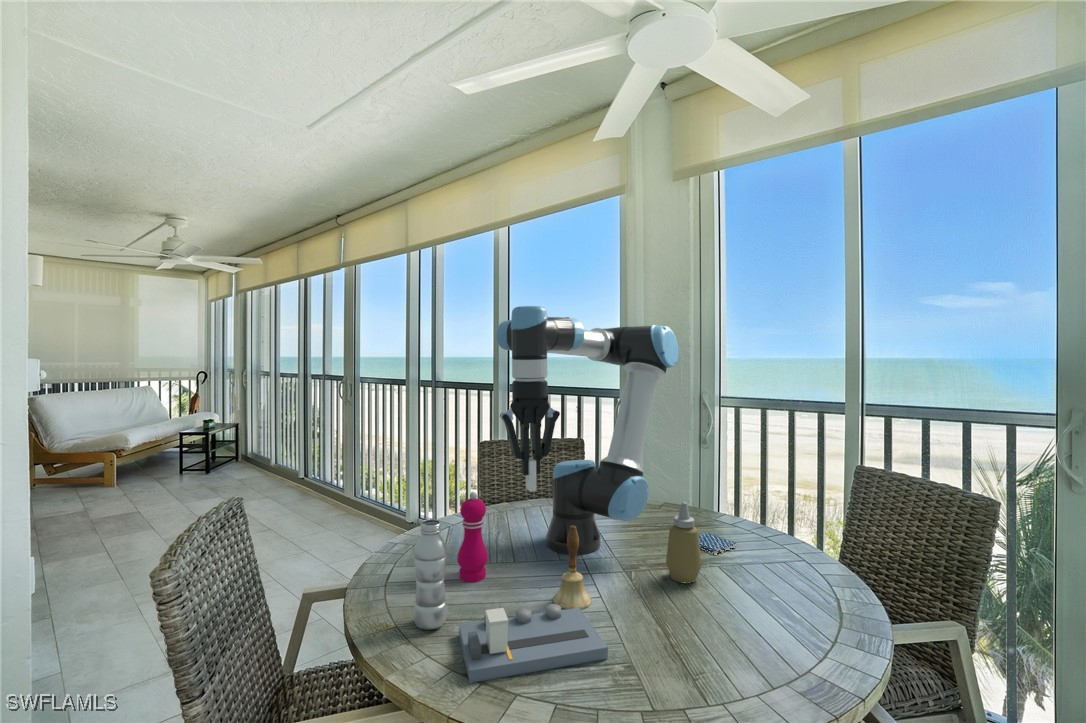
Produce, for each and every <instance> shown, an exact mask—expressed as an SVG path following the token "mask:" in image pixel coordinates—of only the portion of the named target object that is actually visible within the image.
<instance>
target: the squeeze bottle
mask: <svg viewBox="0 0 1086 723" xmlns="http://www.w3.org/2000/svg"><path fill="white" fill-rule="evenodd" d="M689 512H690V511H689V506H688V502H685V501H684V502H681V505H680V509H679V513H678V515H675V516H674V518H673V525H671V526H670V527H669V533H668V539H667V540H668V541H667V542H668V543H667V550H666V557H665V559H666V560H665V562H666V566H667V569H668V572H669V576H670V578H671V579H672V580H673V579H674V580H673V581H675V580H676V581H675V582H677V581H678V582H677V583H680V582H686V583H685V584H690V583H689V582H693V581H695V580H696V581H697V578H698V577H699V574H700V571H701V568H702V560H701V559H702V558H701V549H700V545H699V535H700V534H699V530H698V529H697V527H695V519H694V518H693V517H692V516H690V513H689ZM696 581H695V582H696ZM693 583H694V582H693Z"/></svg>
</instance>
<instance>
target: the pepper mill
mask: <svg viewBox="0 0 1086 723" xmlns="http://www.w3.org/2000/svg"><path fill="white" fill-rule="evenodd" d="M486 507H487V506H486V504H485V502H484V501H483V500H482V499H479V498H478V494H477V493H476V492H474V491H473V492H470V494H469V498H468V499H466V500H464V501H463V502H462V503H461V506H460V513H459V514H460V515H461V517H462V518H463V519H462V527H463V529H464V530H463V531H464V533H463V540H462V543H461V546H460V548H458V553H457V558H456V560H457V564H458V565H459V566H460V568H459V572H458V574H459V579H460V580H461V581H463V582H465V583H476V582H481V581H483V580H485V578H486V576H487V568H486V566H485V565H486V564H487V563H488V561H489V553H488V550H487V547H486V545H485V542H484V539H483V534H482V530H483V526H484V521H485V520H484V516H485V514H486V513H487V508H486Z"/></svg>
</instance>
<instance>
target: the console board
mask: <svg viewBox="0 0 1086 723" xmlns="http://www.w3.org/2000/svg"><path fill="white" fill-rule="evenodd" d="M507 618H508V639H507V651H506V652H500V653H493V654H490V653H489V650H488V646H487V643H486V614H484V619H483V621H476V622H470V623H469V622H468V623H463V624H462V623H461V624H459V625H458V629H459V630H458V636H459V641H460V645H461V650H462V655H463V659H464V660H463V661H464V664H465V668H466V672H467V678H468V683H470V684H471V683H478V682H482V681H490V680H493V679H499V678H505V677H506V678H507V677H511V676H516V675H517V676H518V675H523V674H524V675H525V674H528V673H534V672H540V671H546V670H549V669H550V670H551V669H556V668H563V667H567V666H573V665H580V664H585V663H591V662H597V661H602V660H608V658H609V656H608V655H609V648H608V645H607V644H606V642H605V641H604V640H603V638H602V637H601V636H600V635H599V633H598V631H597V629H595V627H594V626H593V625H592V622H591V621H590V620H589V619H588V617H587V616H586V615H585V613H584V612H583V609H580V608H574V609H562V608H561V607H560V606H559V605H557V604H555V603H551V604H547V605H546V606H545V612H539V613H534V614H532V611H531V609H530V608H528V607H527V608H526V607H521V608H517V609H516V610H515V616H513V617H507Z"/></svg>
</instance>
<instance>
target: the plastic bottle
mask: <svg viewBox="0 0 1086 723" xmlns="http://www.w3.org/2000/svg"><path fill="white" fill-rule="evenodd" d="M441 531H442V528H441V521H440V520H437V519H426V520H423V521H421V524H420V534H421V536H420V537H419V538H418V539H417V541H416V542H415V544H414V548H413V553H412V554H413V561H414V566H415V568H414V569H415V582H416V583H415V586H416V587H415V598H414V603H413V607H412V608H413V610H412V617H413V622H414V623H415V625H416V626H417V628H418V629H420V630H424V631H425V630H426V631H427V630H428V631H429V630H430V631H431V630H435V629H438V628H440V627H442V626H443V625H444V623H445V622H446V621H447V618H448V604H447V598H446V588H445V575H446V574H445V572H446V563H447V556H448V555H447V554H448V547H447V543H446V542H445V540H444V538H443V537H442V536H441V535H440V533H441Z"/></svg>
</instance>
